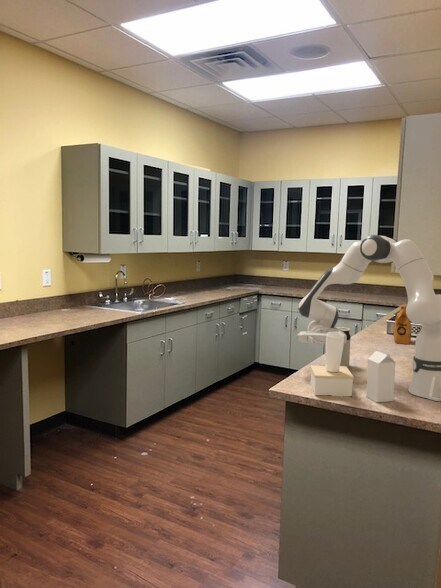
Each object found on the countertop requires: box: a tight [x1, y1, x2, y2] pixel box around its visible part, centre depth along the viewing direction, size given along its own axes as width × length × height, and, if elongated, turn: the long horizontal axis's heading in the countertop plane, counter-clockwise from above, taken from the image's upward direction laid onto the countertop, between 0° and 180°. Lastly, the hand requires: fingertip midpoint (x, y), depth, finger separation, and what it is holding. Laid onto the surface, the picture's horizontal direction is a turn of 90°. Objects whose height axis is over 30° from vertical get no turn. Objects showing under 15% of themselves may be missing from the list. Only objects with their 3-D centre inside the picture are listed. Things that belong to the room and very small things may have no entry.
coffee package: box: [393, 303, 412, 345], centre depth 273 cm, size 10×12×22 cm
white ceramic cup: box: [325, 332, 344, 372], centre depth 182 cm, size 7×7×15 cm
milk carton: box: [365, 347, 396, 404], centre depth 175 cm, size 7×7×19 cm
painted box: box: [309, 364, 355, 397], centre depth 185 cm, size 15×15×8 cm
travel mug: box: [334, 326, 351, 368], centre depth 221 cm, size 8×8×18 cm
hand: (324, 341), depth 195 cm, fingers open, 8 cm apart
